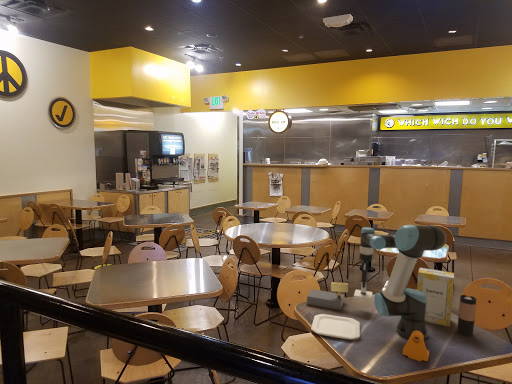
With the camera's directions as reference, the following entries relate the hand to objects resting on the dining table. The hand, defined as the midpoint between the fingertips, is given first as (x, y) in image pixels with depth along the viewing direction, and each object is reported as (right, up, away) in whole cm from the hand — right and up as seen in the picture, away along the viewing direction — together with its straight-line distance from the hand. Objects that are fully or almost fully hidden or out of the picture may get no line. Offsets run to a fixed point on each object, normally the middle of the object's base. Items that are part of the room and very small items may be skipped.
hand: (363, 291), depth 222 cm
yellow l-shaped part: (-13, -5, +10) cm, 17 cm away
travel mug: (+47, -16, -25) cm, 56 cm away
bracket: (+10, -17, -50) cm, 54 cm away
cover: (0, -3, 0) cm, 3 cm away
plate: (-22, -14, -25) cm, 36 cm away
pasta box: (+38, -14, -8) cm, 41 cm away
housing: (-21, -10, +10) cm, 25 cm away
